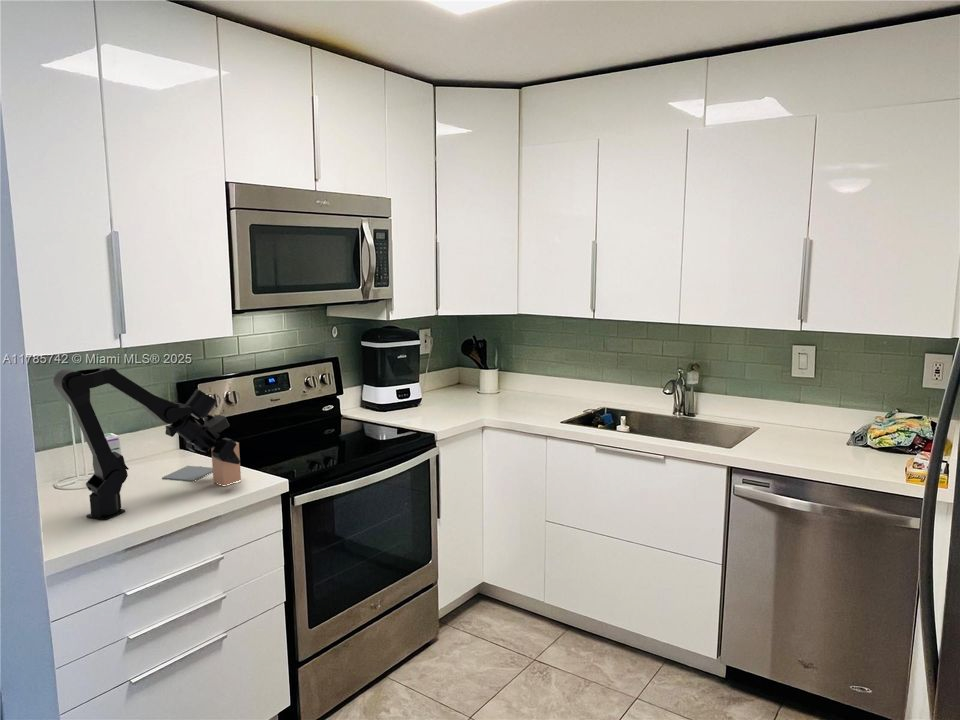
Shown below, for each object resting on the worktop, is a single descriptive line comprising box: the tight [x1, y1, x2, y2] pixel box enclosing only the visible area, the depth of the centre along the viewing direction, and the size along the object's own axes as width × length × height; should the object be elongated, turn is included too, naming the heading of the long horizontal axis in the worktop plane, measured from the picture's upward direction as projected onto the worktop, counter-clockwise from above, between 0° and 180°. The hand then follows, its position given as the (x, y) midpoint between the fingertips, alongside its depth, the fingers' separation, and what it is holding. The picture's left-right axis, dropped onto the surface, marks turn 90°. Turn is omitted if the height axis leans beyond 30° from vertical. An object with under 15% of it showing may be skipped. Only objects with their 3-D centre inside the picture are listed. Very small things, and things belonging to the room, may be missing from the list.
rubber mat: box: [161, 465, 213, 482], centre depth 207 cm, size 12×11×1 cm
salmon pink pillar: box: [211, 441, 242, 485], centre depth 198 cm, size 6×6×12 cm
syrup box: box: [104, 432, 122, 455], centre depth 198 cm, size 6×6×14 cm
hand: (230, 460), depth 199 cm, fingers open, 9 cm apart
